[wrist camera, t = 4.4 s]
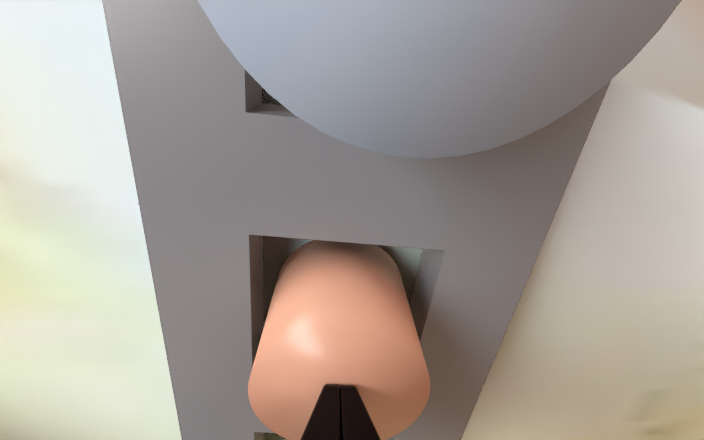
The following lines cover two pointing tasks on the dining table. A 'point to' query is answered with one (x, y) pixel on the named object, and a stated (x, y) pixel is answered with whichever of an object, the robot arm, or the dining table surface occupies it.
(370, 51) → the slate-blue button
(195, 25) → the button panel
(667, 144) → the dining table surface
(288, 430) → the terracotta button
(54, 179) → the dining table surface
